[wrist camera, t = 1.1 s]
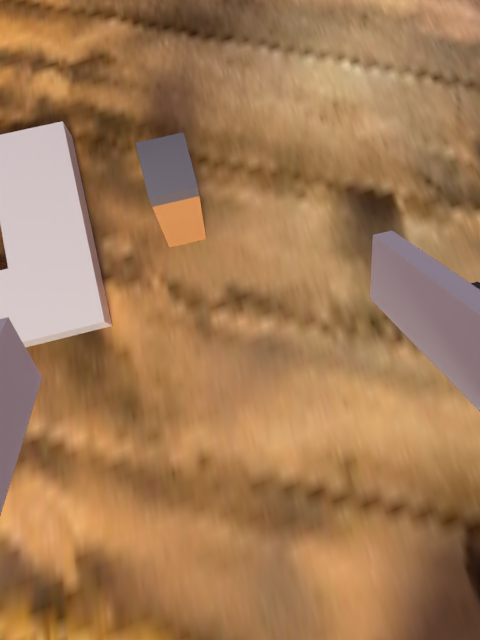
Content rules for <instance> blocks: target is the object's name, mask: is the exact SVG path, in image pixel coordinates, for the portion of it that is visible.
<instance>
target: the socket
mask: <svg viewBox="0 0 480 640" xmlns="http://www.w3.org/2000/svg"><path fill="white" fill-rule="evenodd" d="M0 224H1V230H2V235H3V241H4V247H5V253H6V259H7V265H8V269H4V270H0V319H3V318H7V317H9V319H10V321H11V323H12V324H13V326H14V328H15V330H16V332H17V333H18V335H19V337H20V339H21V341H22V342H23V344H24V346H25V347H29V346H33V345H37V344H41V343H45V342H49V341H53V340H57V339H61V338H65V337H69V336H73V335H77V334H81V333H85V332H89V331H93V330H97V329H101V328H105V327H109V326H112V323H111V318H110V313H109V309H108V304H107V299H106V295H105V290H104V285H103V280H102V276H101V271H100V266H99V261H98V257H97V252H96V247H95V243H94V238H93V233H92V228H91V224H90V219H89V214H88V209H87V205H86V200H85V195H84V191H83V186H82V181H81V176H80V172H79V167H78V162H77V157H76V153H75V148H74V143H73V138H72V135H71V134H70V132H69V130H68V129H67V127H66V126H65V124H64V122H63V121H62V122H57V123H53V124H48V125H43V126H39V127H34V128H29V129H25V130H20V131H15V132H11V133H6V134H1V135H0Z"/></svg>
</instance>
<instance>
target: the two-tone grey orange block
mask: <svg viewBox="0 0 480 640" xmlns="http://www.w3.org/2000/svg"><path fill="white" fill-rule="evenodd" d="M136 147H137V152H138V156H139V160H140V164H141V168H142V172H143V177H144V181H145V185H146V189H147V193H148V197H149V200H150V203H151V205H152V207H153V210H154V212H155V214H156V217H157V219H158V222H159V224H160V226H161V229H162V231H163V233H164V236H165V238H166V240H167V243H168V245H169V248H170V247H174V246H178V245H182V244H186V243H191V242H195V241H199V240H203V239H206V234H205V228H204V222H203V215H202V209H201V203H200V197H199V191H198V185H197V182H196V178H195V174H194V170H193V166H192V163H191V159H190V155H189V151H188V148H187V144H186V140H185V136H184V132H182V133H178V134H173V135H169V136H164V137H160V138H155V139H151V140H146V141H142V142H137V143H136Z"/></svg>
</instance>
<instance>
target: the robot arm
mask: <svg viewBox="0 0 480 640" xmlns="http://www.w3.org/2000/svg"><path fill="white" fill-rule="evenodd" d="M370 299H371V300H372V301H373V302H374V303H375V304H376V305H377V306H378V307H379V308H380V309H381V310H382V311H383V312H384V313H385V314H386V315H387V317H388V318H389V319H390V320H391V321H392V322H393V323H394V324H395V325H396V326H397V327H398V328H399V329H400V330H401V331H402V332H403V333H404V334H405V335H406V336H407V337H408V338H409V339H410V340H411V341H412V342H413V343H414V344H415V345H416V346H417V347H418V348H419V350H420V351H421V352H422V353H423V354H424V355H425V356H426V357H427V358H428V359H429V360H430V361H431V362H432V363H433V364H434V365H435V366H436V367H437V368H438V369H439V370H440V371H441V372H442V373H443V374H444V375H445V376H446V377H447V378H448V379H449V380H450V381H451V383H452V384H453V385H454V386H455V387H456V388H457V389H458V390H459V391H460V392H461V393H462V394H463V395H464V396H465V397H466V398H467V399H468V400H469V401H470V402H471V403H472V404H473V405H474V406H475V407H476V408H477V409H478V410H479V411H480V283H479V282H475V283H469V282H468V281H466V280H465V279H463V278H462V277H460V276H459V275H457V274H456V273H454V272H453V271H451V270H450V269H448V268H447V267H445V266H444V265H442V264H441V263H440V262H438V261H437V260H435V259H434V258H432V257H431V256H429V255H428V254H426V253H425V252H423V251H422V250H420V249H419V248H417V247H416V246H414V245H413V244H411V243H410V242H408V241H407V240H405V239H404V238H402V237H401V236H399V235H398V234H396V233H395V232H394V231H389V232H384V233H380V234H375V235H373V243H372V266H371V288H370ZM41 380H42V376H41V375H40V373H39V371H38V369H37V367H36V366H35V364H34V362H33V360H32V358H31V357H30V355H29V353H28V351H27V349H26V348H25V346H24V344H23V342H22V341H21V339H20V337H19V335H18V333H17V332H16V330H15V328H14V326H13V324H12V323H11V321H10V319H9V317H7V318H3V319H0V515H1V512H2V508H3V505H4V502H5V499H6V495H7V492H8V489H9V485H10V482H11V479H12V475H13V472H14V469H15V465H16V462H17V459H18V456H19V452H20V449H21V446H22V442H23V439H24V436H25V432H26V429H27V426H28V423H29V419H30V416H31V413H32V409H33V406H34V403H35V399H36V396H37V393H38V389H39V386H40V383H41Z"/></svg>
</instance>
